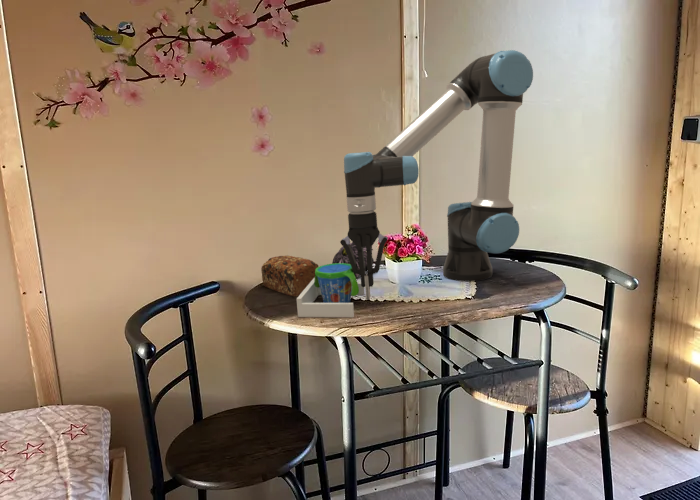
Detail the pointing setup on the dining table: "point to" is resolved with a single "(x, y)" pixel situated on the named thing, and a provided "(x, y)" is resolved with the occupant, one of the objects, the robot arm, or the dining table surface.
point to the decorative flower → (343, 258)
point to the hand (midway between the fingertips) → (368, 298)
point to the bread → (288, 274)
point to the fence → (322, 304)
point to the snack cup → (336, 282)
